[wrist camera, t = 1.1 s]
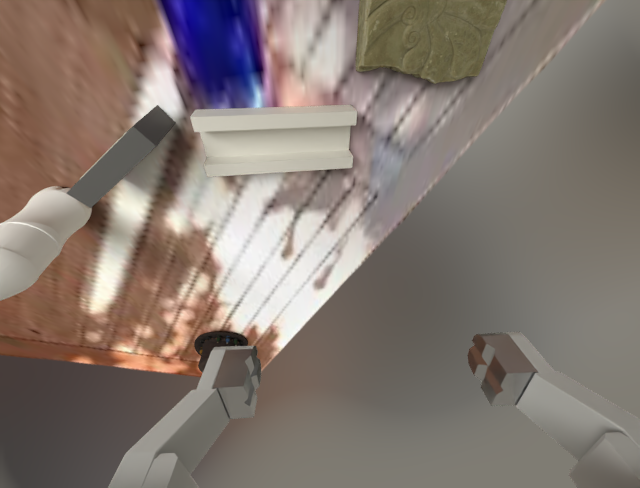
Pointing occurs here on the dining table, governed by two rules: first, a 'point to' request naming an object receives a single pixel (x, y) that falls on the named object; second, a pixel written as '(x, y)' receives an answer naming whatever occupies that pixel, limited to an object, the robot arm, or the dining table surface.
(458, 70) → the decorative tile
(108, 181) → the picture frame
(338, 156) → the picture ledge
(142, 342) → the dining table surface
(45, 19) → the dining table surface
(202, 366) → the top hat
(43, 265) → the water bottle
